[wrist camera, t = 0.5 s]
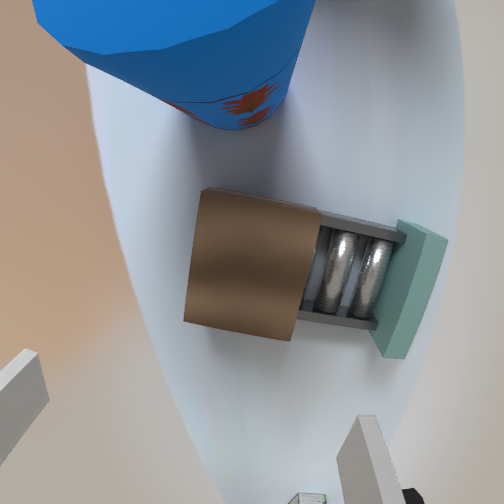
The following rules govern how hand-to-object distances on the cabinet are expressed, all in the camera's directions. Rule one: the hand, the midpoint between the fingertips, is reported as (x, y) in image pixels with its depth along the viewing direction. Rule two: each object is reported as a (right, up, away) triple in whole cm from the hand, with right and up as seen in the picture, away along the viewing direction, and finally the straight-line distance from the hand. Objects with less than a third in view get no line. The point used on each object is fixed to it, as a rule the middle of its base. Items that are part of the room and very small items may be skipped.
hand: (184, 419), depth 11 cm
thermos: (+1, +24, +19) cm, 30 cm away
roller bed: (+7, +6, +24) cm, 25 cm away
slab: (+2, +6, +20) cm, 21 cm away
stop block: (+19, +4, +24) cm, 30 cm away
